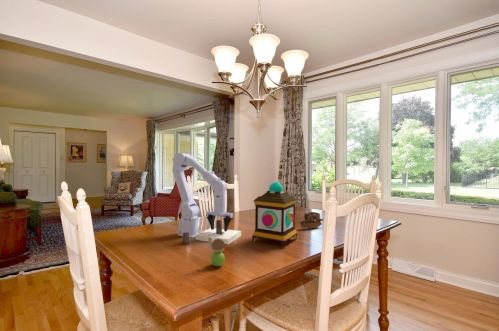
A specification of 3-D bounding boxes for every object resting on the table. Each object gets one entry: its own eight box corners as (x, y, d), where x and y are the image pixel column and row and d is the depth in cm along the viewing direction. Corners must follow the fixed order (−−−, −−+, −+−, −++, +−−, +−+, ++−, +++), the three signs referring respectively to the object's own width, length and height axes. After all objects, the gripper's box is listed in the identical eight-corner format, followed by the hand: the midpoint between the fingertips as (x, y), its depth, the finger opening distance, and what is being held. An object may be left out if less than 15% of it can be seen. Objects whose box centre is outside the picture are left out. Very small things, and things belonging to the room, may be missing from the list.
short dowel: (181, 244, 124) (181, 233, 124) (184, 242, 127) (185, 232, 127) (186, 244, 123) (186, 234, 123) (190, 243, 126) (190, 232, 126)
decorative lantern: (266, 233, 146) (267, 179, 145) (300, 239, 136) (301, 181, 136) (248, 242, 129) (249, 181, 128) (285, 249, 119) (287, 183, 118)
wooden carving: (304, 231, 152) (304, 213, 152) (299, 229, 156) (299, 212, 156) (324, 227, 160) (325, 211, 160) (319, 226, 164) (319, 210, 164)
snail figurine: (208, 263, 102) (208, 232, 101) (224, 262, 102) (225, 232, 102) (207, 268, 96) (207, 236, 96) (224, 268, 97) (225, 236, 97)
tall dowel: (215, 238, 135) (215, 220, 135) (217, 236, 138) (218, 219, 138) (220, 238, 134) (220, 221, 134) (222, 237, 137) (223, 220, 136)
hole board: (195, 239, 131) (195, 234, 131) (211, 232, 146) (211, 227, 146) (228, 244, 125) (228, 239, 125) (241, 235, 140) (241, 231, 140)
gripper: (203, 204, 134) (202, 230, 134) (228, 206, 129) (228, 233, 129) (210, 202, 141) (209, 227, 141) (234, 204, 136) (234, 230, 136)
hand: (219, 230), depth 136 cm, fingers open, 7 cm apart
